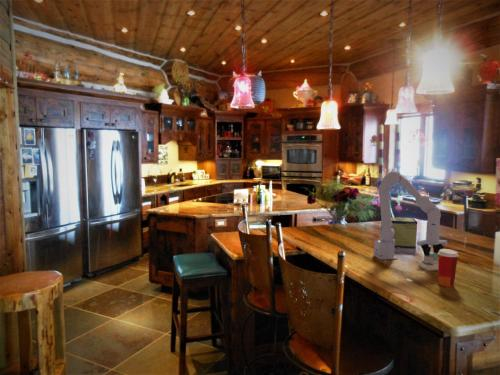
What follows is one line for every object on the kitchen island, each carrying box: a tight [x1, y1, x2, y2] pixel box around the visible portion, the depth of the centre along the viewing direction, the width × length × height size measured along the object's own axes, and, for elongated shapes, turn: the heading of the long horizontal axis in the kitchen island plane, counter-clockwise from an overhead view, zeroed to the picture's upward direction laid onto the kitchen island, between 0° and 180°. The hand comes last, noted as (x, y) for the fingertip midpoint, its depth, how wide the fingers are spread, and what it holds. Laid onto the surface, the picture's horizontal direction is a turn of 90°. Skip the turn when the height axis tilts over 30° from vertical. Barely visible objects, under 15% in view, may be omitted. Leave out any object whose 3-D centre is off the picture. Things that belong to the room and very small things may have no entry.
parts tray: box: [417, 260, 438, 271], centre depth 179 cm, size 12×7×2 cm, turn 99°
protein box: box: [391, 216, 418, 250], centre depth 217 cm, size 10×16×16 cm
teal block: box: [429, 250, 438, 261], centre depth 186 cm, size 4×4×5 cm
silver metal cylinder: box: [423, 254, 434, 266], centre depth 179 cm, size 4×4×5 cm
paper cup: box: [437, 248, 460, 288], centre depth 157 cm, size 8×8×14 cm
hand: (431, 259), depth 187 cm, fingers closed on teal block, 4 cm apart
